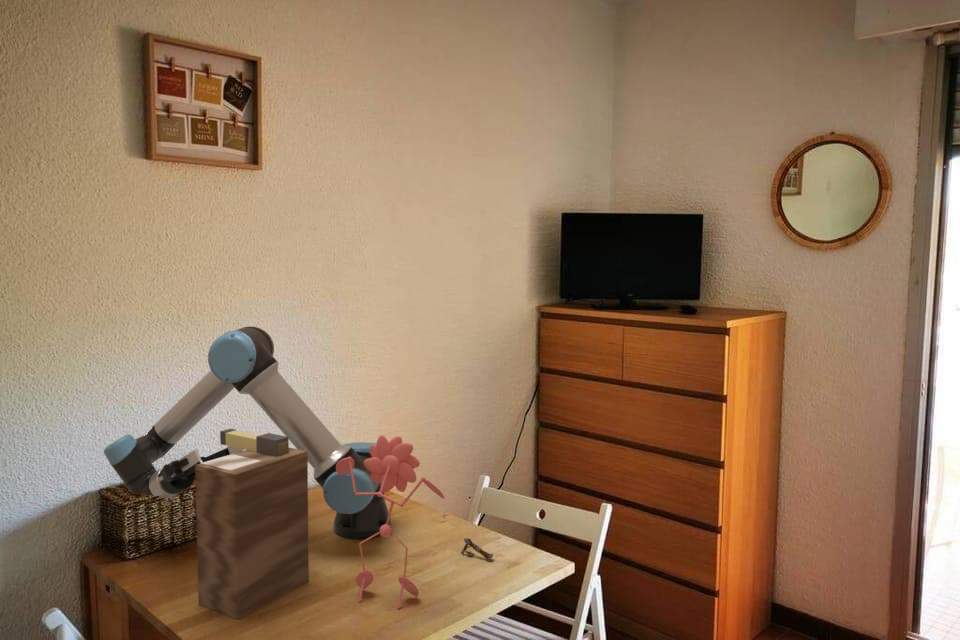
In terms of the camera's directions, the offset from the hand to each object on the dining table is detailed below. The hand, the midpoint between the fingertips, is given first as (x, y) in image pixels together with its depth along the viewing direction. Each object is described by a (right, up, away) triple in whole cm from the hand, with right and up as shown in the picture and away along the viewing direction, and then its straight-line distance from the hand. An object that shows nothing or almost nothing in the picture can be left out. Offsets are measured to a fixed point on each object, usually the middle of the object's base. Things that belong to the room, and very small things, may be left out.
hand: (223, 447), depth 168 cm
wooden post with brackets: (+58, -29, +11) cm, 66 cm away
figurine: (+40, -30, -7) cm, 51 cm away
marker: (+8, +1, -4) cm, 9 cm away
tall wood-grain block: (+10, -30, -9) cm, 33 cm away
